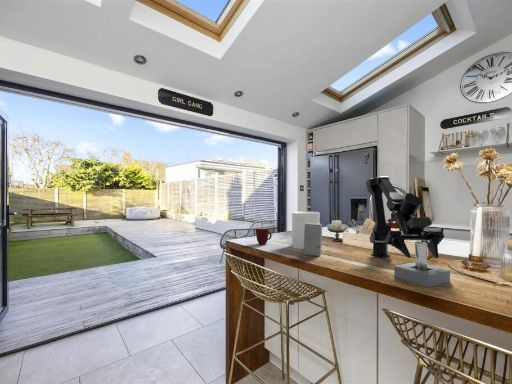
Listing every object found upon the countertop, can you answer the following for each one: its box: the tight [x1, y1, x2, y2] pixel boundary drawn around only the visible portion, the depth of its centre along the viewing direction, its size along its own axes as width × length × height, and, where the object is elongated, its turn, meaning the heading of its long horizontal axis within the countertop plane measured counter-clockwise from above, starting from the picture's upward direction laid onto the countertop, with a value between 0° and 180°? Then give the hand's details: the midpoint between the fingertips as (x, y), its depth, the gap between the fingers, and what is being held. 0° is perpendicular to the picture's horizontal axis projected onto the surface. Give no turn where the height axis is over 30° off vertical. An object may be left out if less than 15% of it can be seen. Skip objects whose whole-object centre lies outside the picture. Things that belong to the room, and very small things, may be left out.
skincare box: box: [303, 223, 323, 257], centre depth 126 cm, size 8×7×16 cm
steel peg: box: [414, 241, 428, 271], centre depth 88 cm, size 4×4×13 cm
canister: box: [291, 211, 321, 250], centre depth 145 cm, size 16×16×20 cm
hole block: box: [393, 261, 451, 289], centre depth 88 cm, size 12×12×4 cm
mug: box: [255, 226, 272, 246], centre depth 152 cm, size 10×8×10 cm
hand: (423, 257), depth 87 cm, fingers open, 9 cm apart
